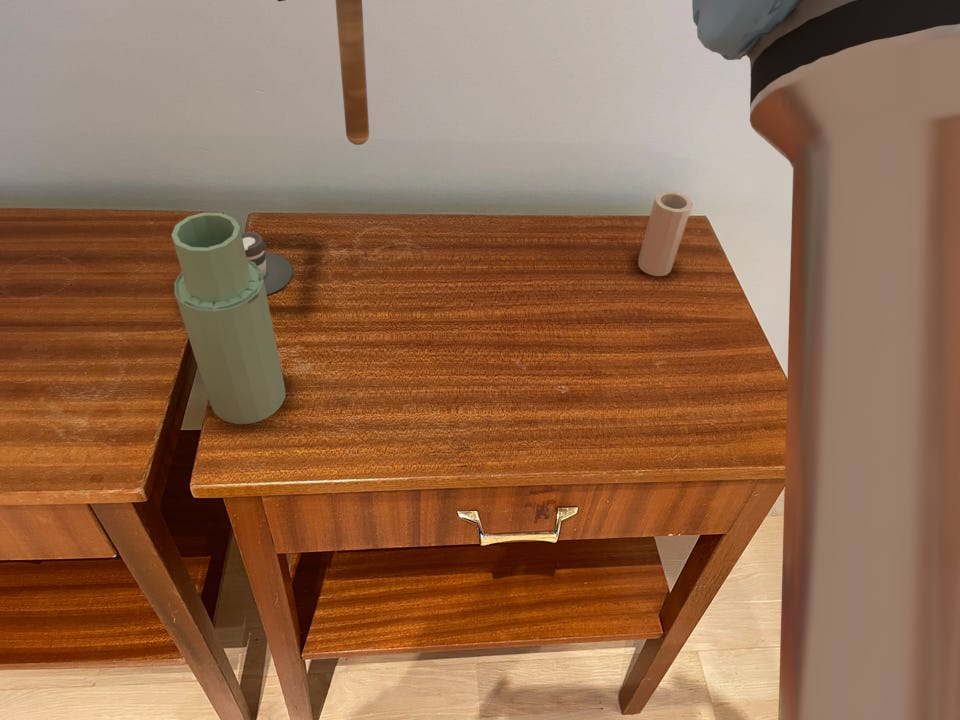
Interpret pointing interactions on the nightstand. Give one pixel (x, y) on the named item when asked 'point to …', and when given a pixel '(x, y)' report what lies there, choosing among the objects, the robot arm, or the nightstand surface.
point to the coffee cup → (267, 262)
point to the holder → (664, 232)
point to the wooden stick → (353, 69)
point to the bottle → (227, 319)
